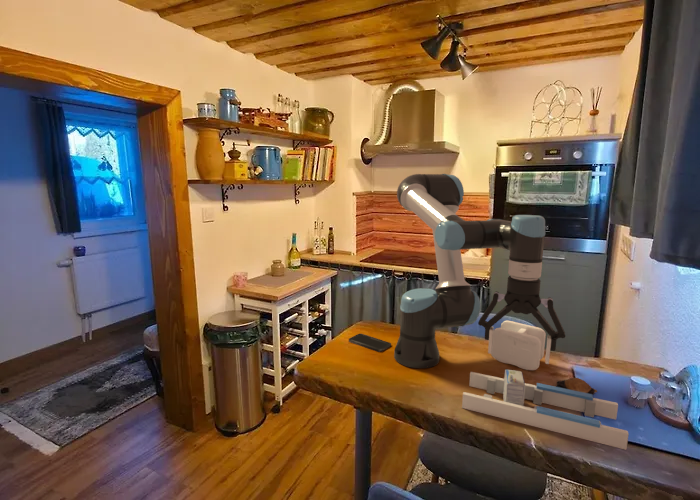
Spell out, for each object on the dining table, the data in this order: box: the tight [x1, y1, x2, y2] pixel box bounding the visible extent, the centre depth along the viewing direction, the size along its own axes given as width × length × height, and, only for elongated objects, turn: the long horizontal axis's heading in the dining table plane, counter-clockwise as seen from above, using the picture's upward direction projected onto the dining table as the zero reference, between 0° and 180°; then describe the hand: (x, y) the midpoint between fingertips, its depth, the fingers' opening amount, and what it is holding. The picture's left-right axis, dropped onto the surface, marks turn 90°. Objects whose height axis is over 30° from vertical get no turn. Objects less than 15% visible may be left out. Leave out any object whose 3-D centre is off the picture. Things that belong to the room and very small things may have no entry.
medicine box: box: [502, 369, 526, 406], centre depth 101 cm, size 8×4×9 cm, turn 162°
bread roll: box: [554, 377, 598, 396], centre depth 110 cm, size 11×8×4 cm
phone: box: [348, 333, 392, 353], centre depth 141 cm, size 8×1×15 cm
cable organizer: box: [490, 320, 547, 371], centre depth 126 cm, size 15×11×12 cm
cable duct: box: [461, 371, 629, 451], centre depth 98 cm, size 36×14×5 cm, turn 64°
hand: (517, 356), depth 98 cm, fingers open, 13 cm apart
